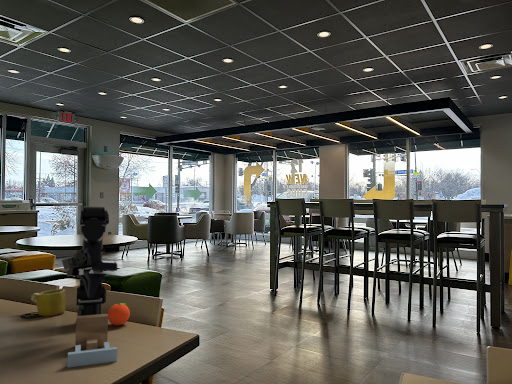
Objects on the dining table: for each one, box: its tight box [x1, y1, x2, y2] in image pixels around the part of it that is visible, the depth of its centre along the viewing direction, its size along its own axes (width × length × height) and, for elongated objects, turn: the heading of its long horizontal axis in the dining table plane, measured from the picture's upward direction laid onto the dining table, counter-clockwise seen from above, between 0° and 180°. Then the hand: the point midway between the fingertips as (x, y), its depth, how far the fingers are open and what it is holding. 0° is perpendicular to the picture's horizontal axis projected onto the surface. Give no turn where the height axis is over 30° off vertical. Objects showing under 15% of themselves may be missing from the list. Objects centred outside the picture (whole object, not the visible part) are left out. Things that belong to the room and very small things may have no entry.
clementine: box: [107, 302, 132, 326], centre depth 128 cm, size 8×7×7 cm
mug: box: [30, 288, 66, 318], centre depth 141 cm, size 12×10×10 cm
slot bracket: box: [66, 341, 118, 368], centre depth 97 cm, size 6×11×3 cm, turn 114°
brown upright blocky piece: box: [74, 313, 109, 351], centre depth 104 cm, size 9×8×8 cm
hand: (90, 298), depth 116 cm, fingers closed
